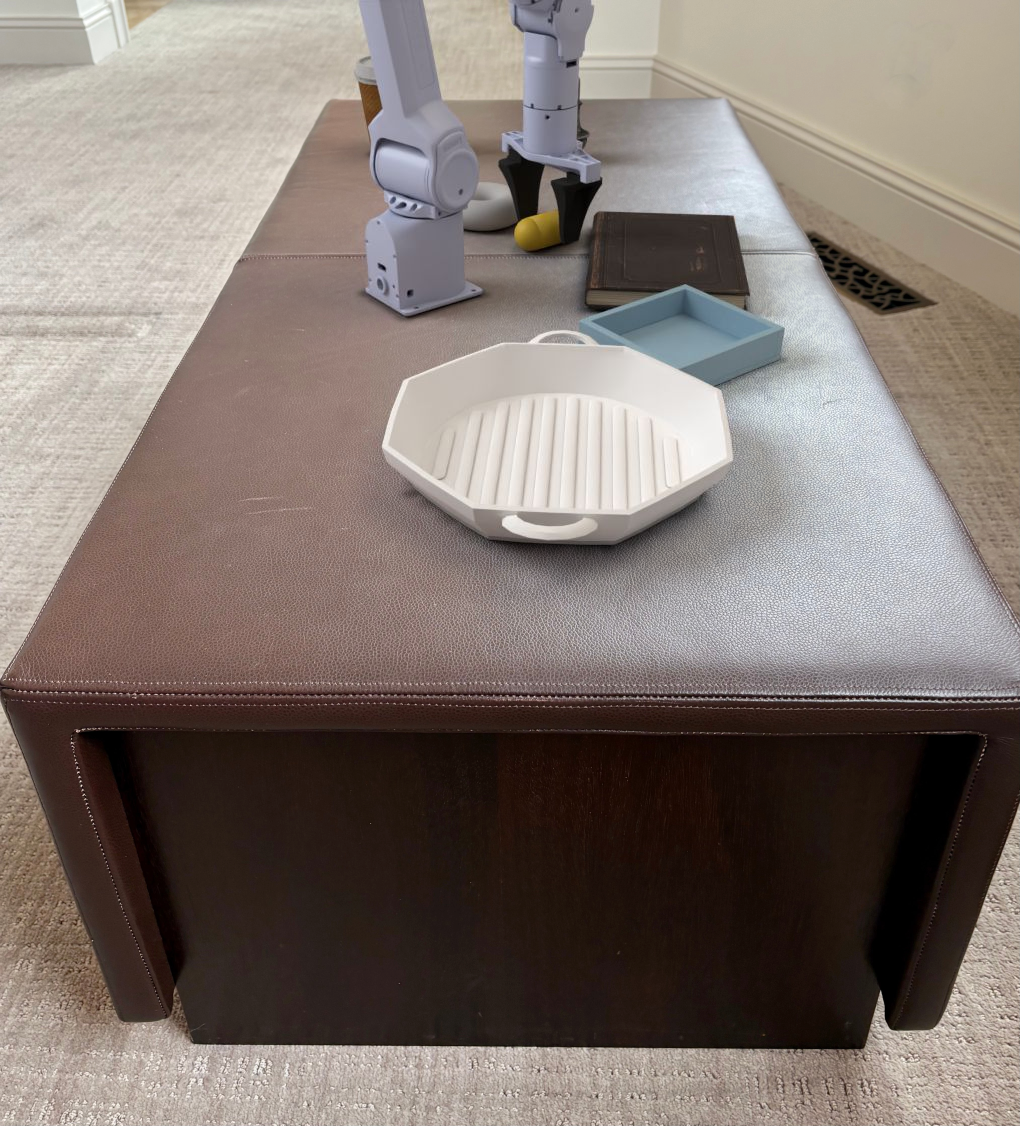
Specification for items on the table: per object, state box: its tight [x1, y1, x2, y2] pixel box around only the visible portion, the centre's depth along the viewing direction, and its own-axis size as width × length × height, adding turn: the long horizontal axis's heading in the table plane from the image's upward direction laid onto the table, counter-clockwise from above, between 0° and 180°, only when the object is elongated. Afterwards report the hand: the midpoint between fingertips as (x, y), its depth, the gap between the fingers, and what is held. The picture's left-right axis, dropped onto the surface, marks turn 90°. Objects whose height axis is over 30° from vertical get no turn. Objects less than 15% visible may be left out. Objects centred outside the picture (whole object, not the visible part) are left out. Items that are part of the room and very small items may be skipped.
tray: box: [577, 284, 786, 387], centre depth 97 cm, size 14×13×3 cm
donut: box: [463, 181, 518, 232], centre depth 126 cm, size 10×4×10 cm
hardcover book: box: [583, 210, 751, 312], centre depth 114 cm, size 16×23×2 cm
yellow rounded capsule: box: [513, 208, 562, 252], centre depth 119 cm, size 9×4×4 cm, turn 127°
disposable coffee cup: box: [353, 54, 383, 146], centre depth 145 cm, size 10×10×12 cm
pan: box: [381, 329, 734, 546], centre depth 82 cm, size 31×26×4 cm
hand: (548, 231), depth 120 cm, fingers open, 7 cm apart
